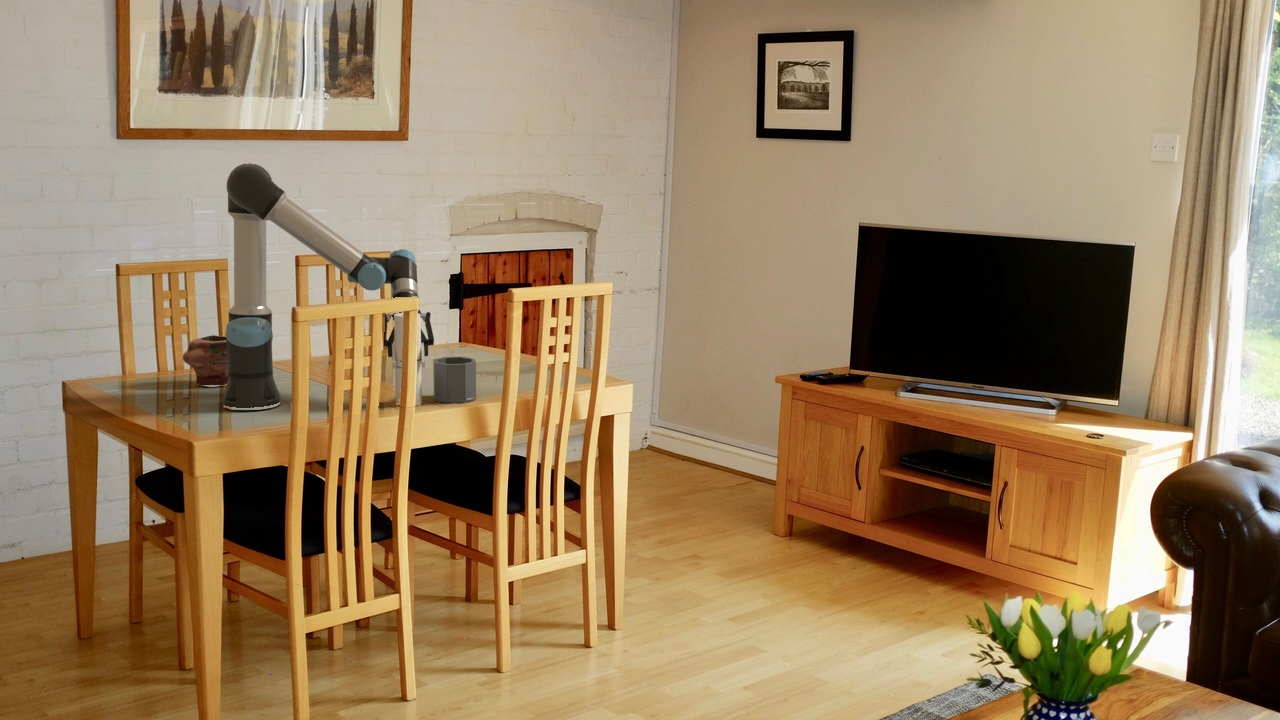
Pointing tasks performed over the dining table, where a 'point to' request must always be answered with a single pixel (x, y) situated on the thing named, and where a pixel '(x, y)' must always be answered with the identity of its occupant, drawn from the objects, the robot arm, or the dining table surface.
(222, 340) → the decorative planter
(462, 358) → the holder sleeve
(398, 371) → the cylindrical container
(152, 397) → the dining table surface
